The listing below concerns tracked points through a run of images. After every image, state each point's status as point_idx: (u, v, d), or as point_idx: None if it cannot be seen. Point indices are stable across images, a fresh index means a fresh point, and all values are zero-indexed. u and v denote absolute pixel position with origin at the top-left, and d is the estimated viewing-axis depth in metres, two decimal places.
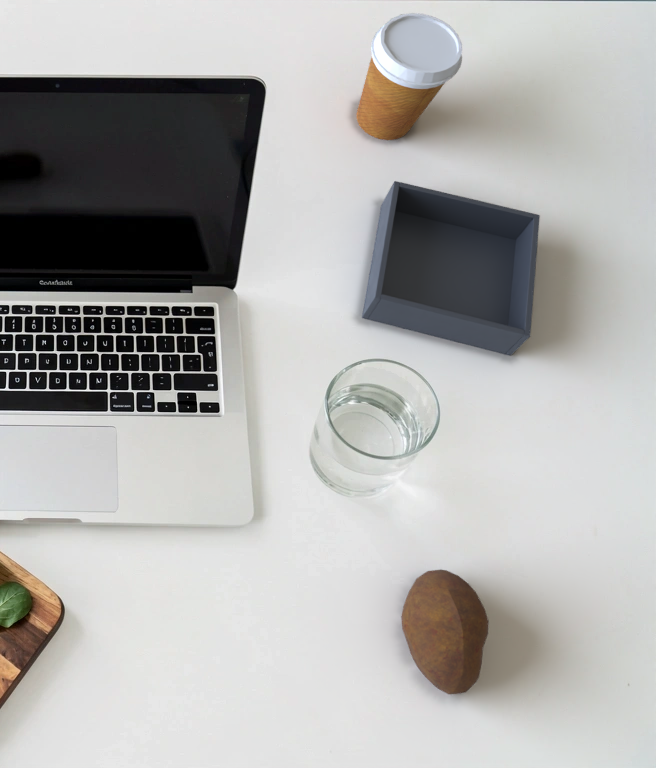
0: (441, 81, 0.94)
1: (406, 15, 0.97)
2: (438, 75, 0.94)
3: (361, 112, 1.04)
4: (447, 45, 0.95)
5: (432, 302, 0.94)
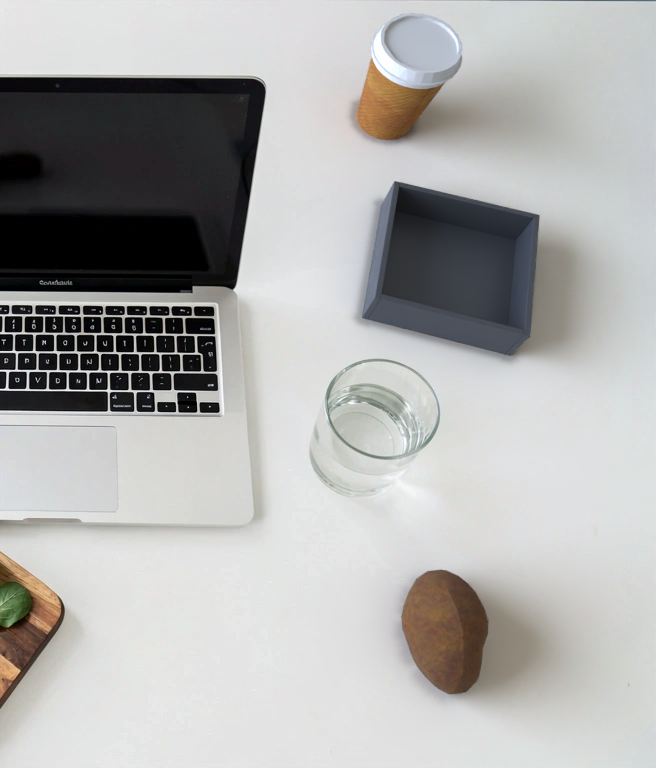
0: (441, 81, 0.94)
1: (406, 15, 0.97)
2: (438, 75, 0.94)
3: (361, 112, 1.04)
4: (447, 45, 0.95)
5: (432, 302, 0.94)
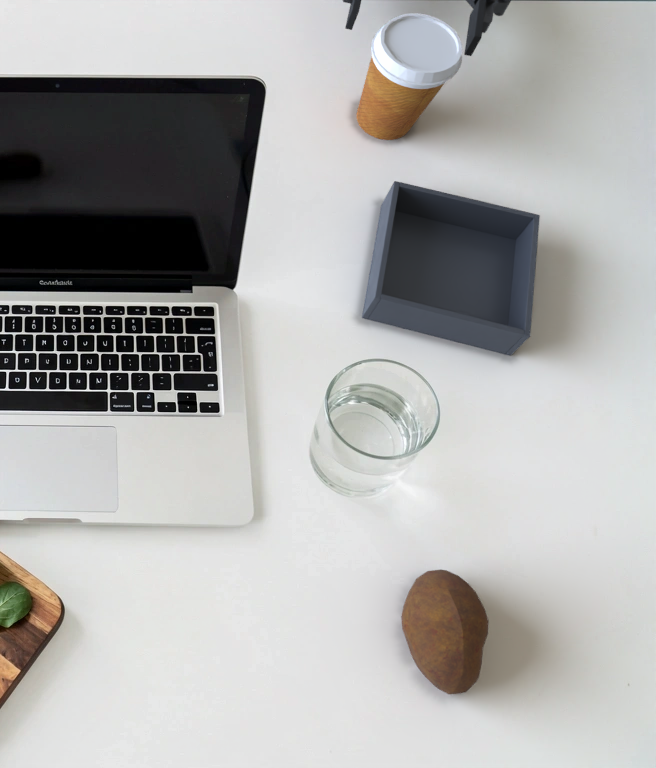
0: (441, 81, 0.94)
1: (406, 15, 0.97)
2: (438, 75, 0.94)
3: (361, 112, 1.04)
4: (447, 45, 0.95)
5: (432, 302, 0.94)
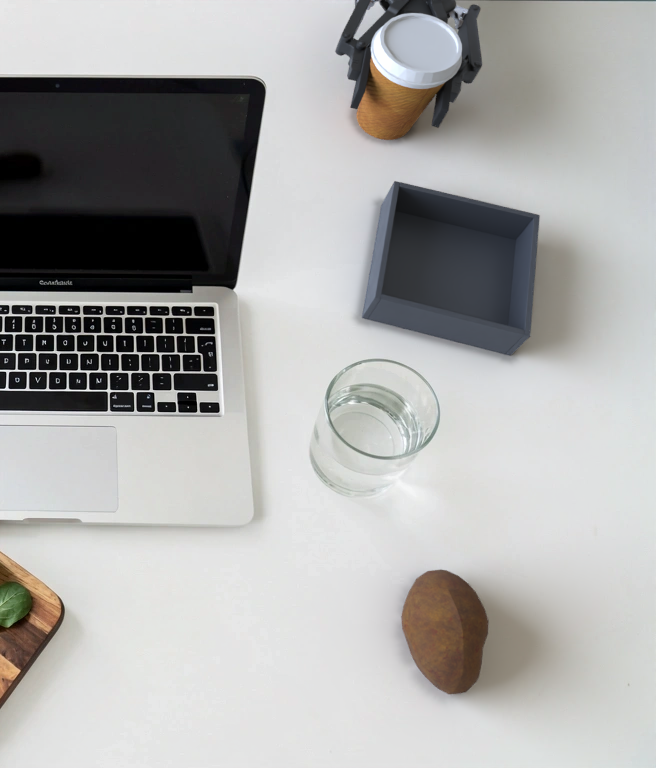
0: (441, 81, 0.94)
1: (406, 15, 0.97)
2: (438, 75, 0.94)
3: (361, 112, 1.04)
4: (446, 45, 0.95)
5: (432, 302, 0.94)
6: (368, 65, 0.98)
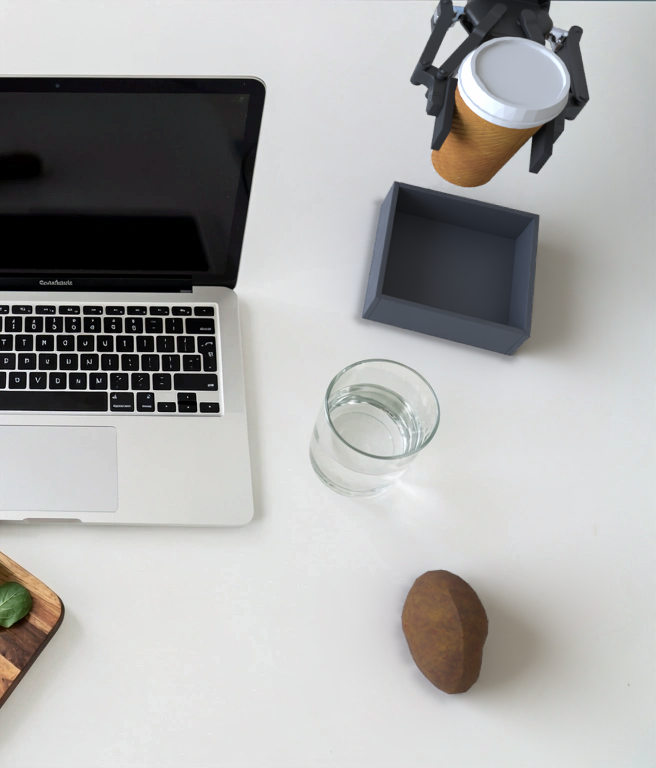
0: (545, 120, 0.78)
1: (500, 39, 0.81)
2: (542, 112, 0.77)
3: (439, 152, 0.87)
4: (551, 76, 0.79)
5: (432, 302, 0.94)
6: (453, 99, 0.82)
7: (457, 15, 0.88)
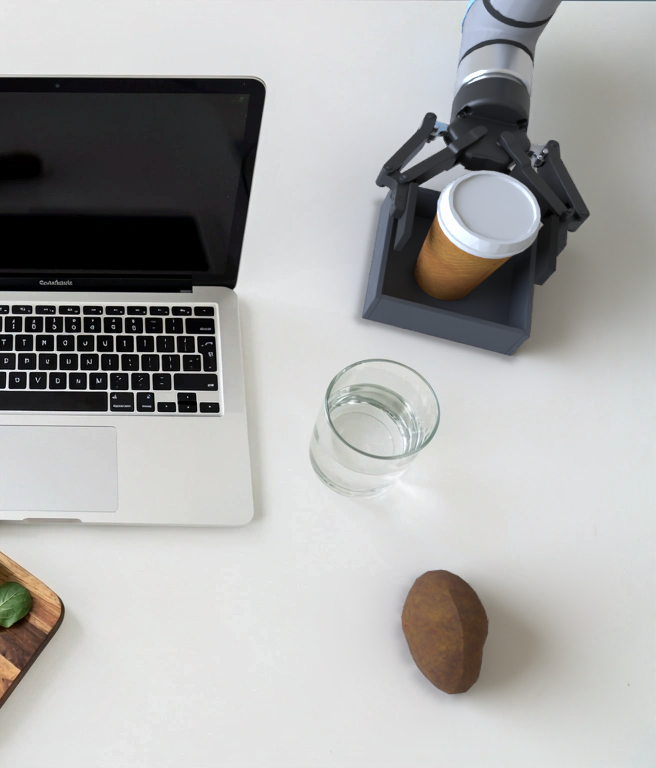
0: (517, 251, 0.84)
1: (476, 173, 0.87)
2: (514, 245, 0.84)
3: (421, 268, 0.94)
4: (522, 209, 0.85)
5: (432, 302, 0.94)
6: (414, 204, 0.89)
7: (439, 131, 0.94)
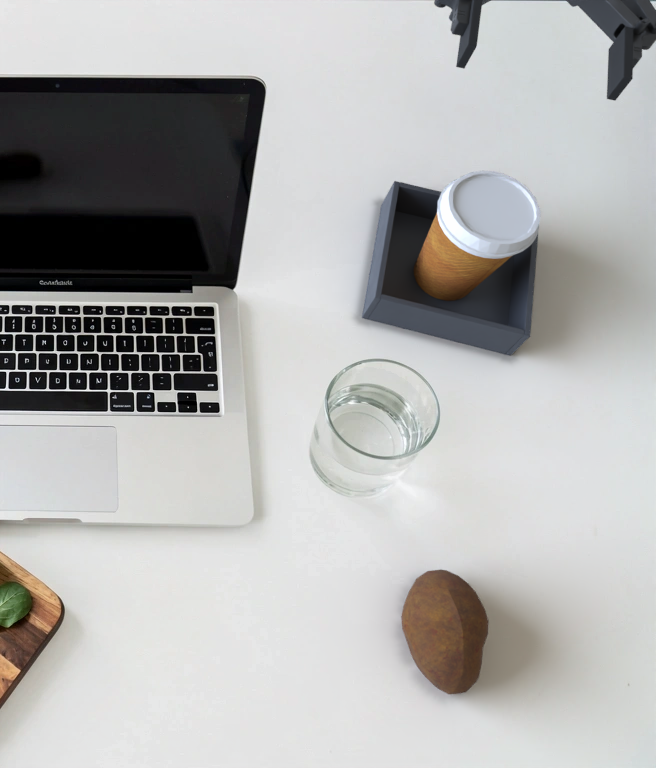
0: (517, 251, 0.84)
1: (476, 173, 0.87)
2: (514, 245, 0.84)
3: (421, 268, 0.94)
4: (522, 209, 0.85)
5: (432, 302, 0.94)
6: (478, 16, 0.83)
7: None
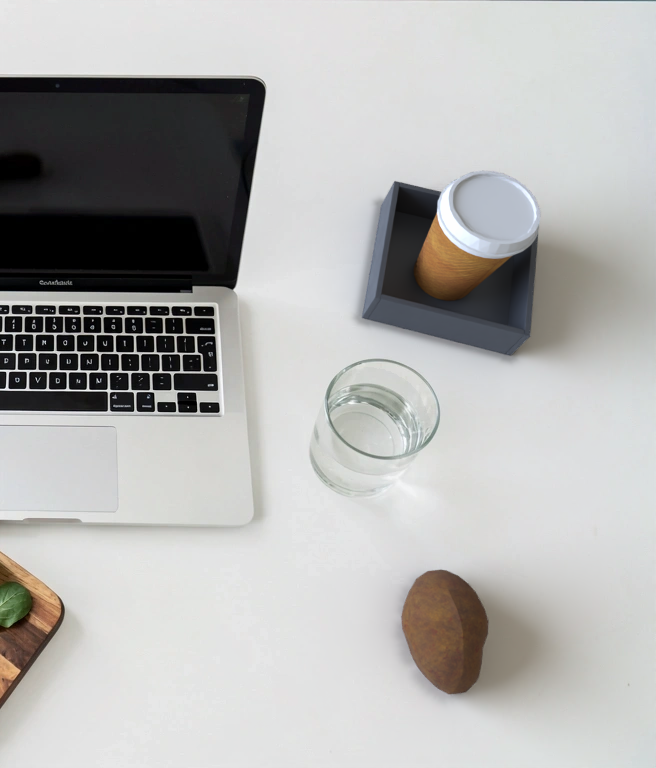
0: (517, 251, 0.84)
1: (476, 173, 0.87)
2: (514, 245, 0.84)
3: (421, 268, 0.94)
4: (522, 209, 0.85)
5: (432, 302, 0.94)
6: None
7: None
